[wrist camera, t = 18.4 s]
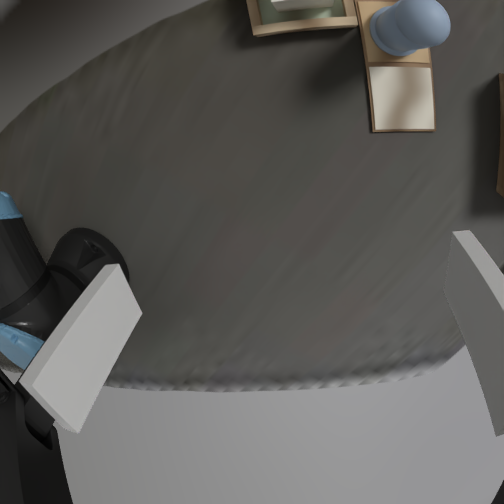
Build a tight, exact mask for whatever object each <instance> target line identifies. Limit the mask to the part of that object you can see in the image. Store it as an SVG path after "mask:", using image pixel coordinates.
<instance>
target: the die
mask: <svg viewBox="0 0 504 504" xmlns="http://www.w3.org/2000/svg"><path fill="white" fill-rule="evenodd" d="M334 1H335V0H271V2H272V4H273V6H274V7H275V9H276V10H277V12H286V11H293V10H302V9H312V8H324V7H333V4H334Z"/></svg>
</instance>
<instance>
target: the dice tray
mask: <svg viewBox="0 0 504 504" xmlns="http://www.w3.org/2000/svg"><path fill="white" fill-rule="evenodd" d="M246 1H247V6H248V11H249V16H250V21H251V26H252V31H253V35H254V36H256V37H262V36H269V35H275V34H283V33H291V32H300V31H310V30H321V29H337V28H355V27H356V26H357V25H358V22H357V16H356V11H355V6H354V2H353V0H335V1H334V4H333V7H324V8H312V9H302V10H293V11H286V12H277V10H276V9H275V7H274V6H273V4H272V2H271V0H246Z"/></svg>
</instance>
